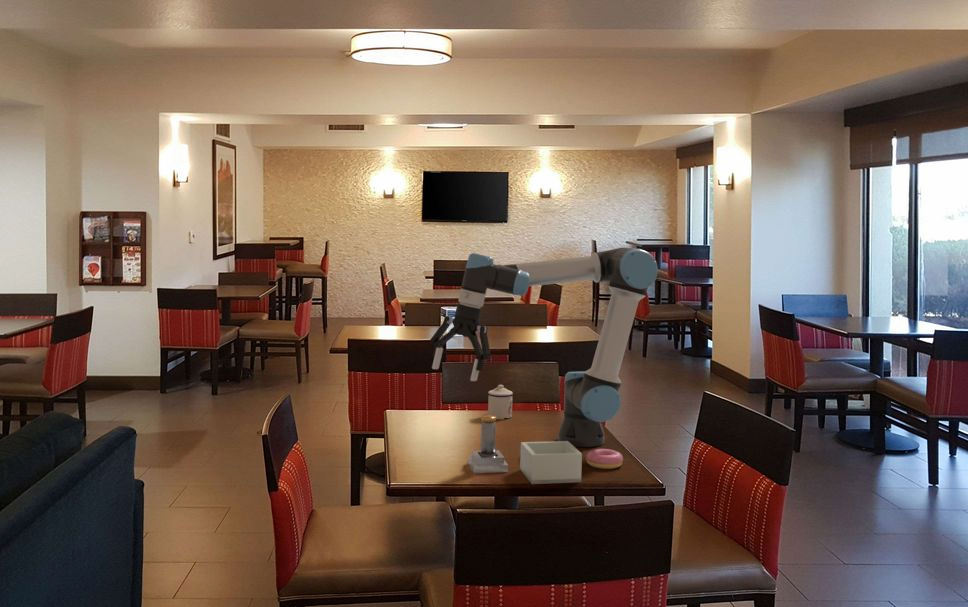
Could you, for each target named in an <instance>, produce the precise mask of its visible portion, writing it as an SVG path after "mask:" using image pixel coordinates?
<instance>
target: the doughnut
mask: <svg viewBox="0 0 968 607" xmlns="http://www.w3.org/2000/svg"><path fill="white" fill-rule="evenodd" d="M585 458H586V463H587V464H588V465H590V466H591V467H593V468H597V469H603V470H604V469H605V470H612V469H613V470H614V469H616V468H620V466H621V465H622V464H623V462H624V457H623V454H622V453H620V452H619V451H617V450H613V449H609V448H597V449H592V450H589V451H588V452H586V456H585Z"/></svg>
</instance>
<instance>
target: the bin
mask: <svg viewBox="0 0 968 607" xmlns="http://www.w3.org/2000/svg"><path fill="white" fill-rule="evenodd" d="M519 459H520V461H519V462H520V464H519V465H520V466H519V467H520V468H519V469H520V470H519V471H521V472H522V474H523V475H524V476H525V478H527V480H528V481H529V482H530V484H531V485H536V484H537V485H540V484H541V485H542V484H545V485H546V484H565V483H566V484H568V483H569V484H570V483H571V484H572V483H582V470H583V469H582V465H583V464H582V463H583V462H582V461H583V453H582V452H580V450H578V449H577V447H576V446H573V445H572V444H571V443H570V442H568V441H558V440H557V441H556V440H555V441H526V442H525V441H521V442H520V458H519Z"/></svg>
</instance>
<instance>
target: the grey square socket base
mask: <svg viewBox="0 0 968 607" xmlns="http://www.w3.org/2000/svg"><path fill="white" fill-rule="evenodd" d="M480 452H481V450H471V456H467V464H468V467H469V468H470V470H471V469H472V470H471V471H472V473H473V474H488V473H489V474H490V473H492V474H493V473H509V464H508V463H507V461H506V460H505V456H504V455H503V454H502V452H501V451H500V450H499V449H495V452H496V456H491V457H480Z"/></svg>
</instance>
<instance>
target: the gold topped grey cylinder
mask: <svg viewBox="0 0 968 607" xmlns="http://www.w3.org/2000/svg"><path fill="white" fill-rule="evenodd" d="M480 421H481V432H480V433H481V434H480V435H481V436H480V438H481V439H480V440H481V441H480V442H481V443H480V451H481V452H480V457H491V456H496V452H495V450H496V423H497V422H496V421H497V419H496V416H493V415H488V414H485V415H481V416H480Z"/></svg>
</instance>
